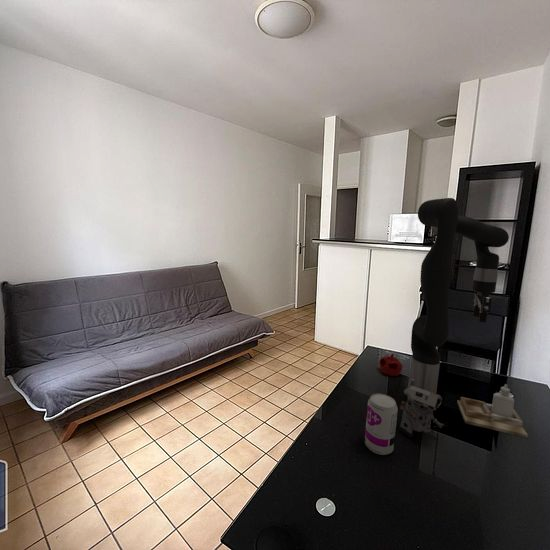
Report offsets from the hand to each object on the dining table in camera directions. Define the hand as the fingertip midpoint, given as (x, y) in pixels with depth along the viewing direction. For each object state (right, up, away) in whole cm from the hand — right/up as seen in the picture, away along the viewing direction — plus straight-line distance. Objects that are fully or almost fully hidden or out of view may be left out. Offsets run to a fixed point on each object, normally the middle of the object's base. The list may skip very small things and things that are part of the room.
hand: (479, 319), depth 116 cm
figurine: (-36, -33, -24) cm, 55 cm away
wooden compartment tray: (-7, -33, -15) cm, 37 cm away
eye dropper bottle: (-4, -32, -16) cm, 36 cm away
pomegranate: (-30, -27, +16) cm, 43 cm away
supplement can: (-51, -34, -30) cm, 68 cm away
